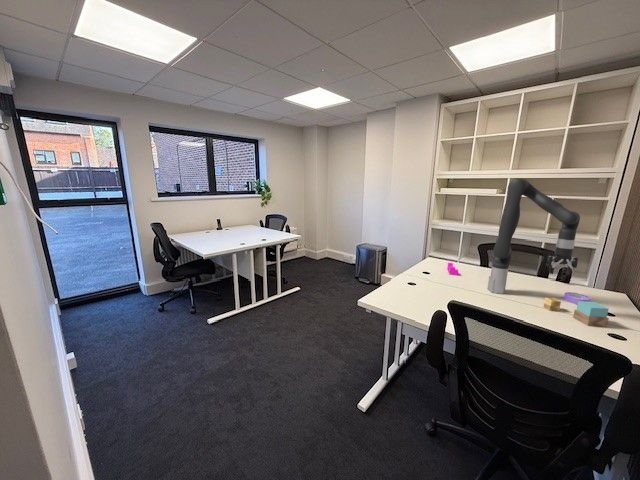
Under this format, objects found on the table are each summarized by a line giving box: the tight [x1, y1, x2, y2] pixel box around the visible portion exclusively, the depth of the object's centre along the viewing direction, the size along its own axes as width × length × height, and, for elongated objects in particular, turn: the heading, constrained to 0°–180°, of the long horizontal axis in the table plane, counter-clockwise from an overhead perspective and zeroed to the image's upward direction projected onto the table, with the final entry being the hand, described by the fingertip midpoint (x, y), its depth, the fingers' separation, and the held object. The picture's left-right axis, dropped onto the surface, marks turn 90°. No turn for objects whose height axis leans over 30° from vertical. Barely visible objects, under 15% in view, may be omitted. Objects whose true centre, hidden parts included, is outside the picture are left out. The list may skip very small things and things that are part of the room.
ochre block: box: [543, 297, 562, 312], centre depth 154 cm, size 5×5×6 cm
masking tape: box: [563, 291, 591, 305], centre depth 165 cm, size 12×12×4 cm
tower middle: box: [575, 301, 609, 318], centre depth 139 cm, size 8×8×5 cm
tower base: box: [572, 309, 610, 328], centre depth 139 cm, size 9×9×5 cm
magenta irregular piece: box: [446, 262, 459, 277], centre depth 217 cm, size 15×6×8 cm, turn 161°
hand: (559, 273), depth 153 cm, fingers open, 8 cm apart
